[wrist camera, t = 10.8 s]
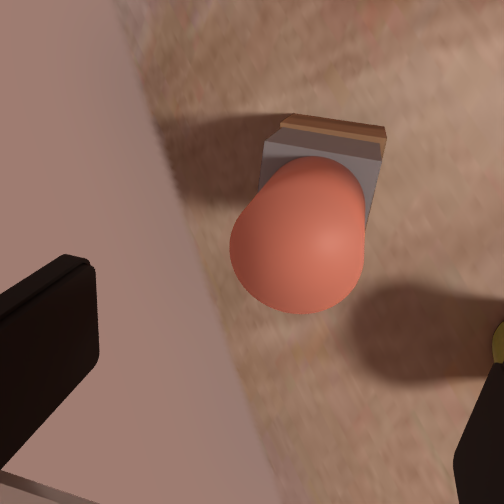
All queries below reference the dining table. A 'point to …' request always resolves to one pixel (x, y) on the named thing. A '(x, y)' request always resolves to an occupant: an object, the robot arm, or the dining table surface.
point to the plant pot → (498, 344)
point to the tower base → (338, 129)
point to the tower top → (333, 147)
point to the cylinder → (302, 237)
